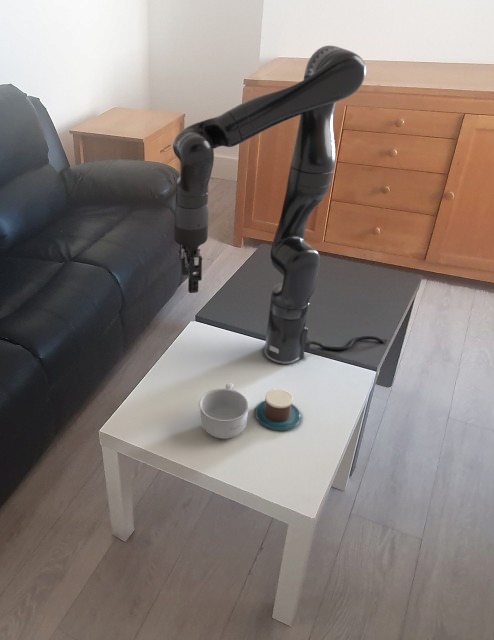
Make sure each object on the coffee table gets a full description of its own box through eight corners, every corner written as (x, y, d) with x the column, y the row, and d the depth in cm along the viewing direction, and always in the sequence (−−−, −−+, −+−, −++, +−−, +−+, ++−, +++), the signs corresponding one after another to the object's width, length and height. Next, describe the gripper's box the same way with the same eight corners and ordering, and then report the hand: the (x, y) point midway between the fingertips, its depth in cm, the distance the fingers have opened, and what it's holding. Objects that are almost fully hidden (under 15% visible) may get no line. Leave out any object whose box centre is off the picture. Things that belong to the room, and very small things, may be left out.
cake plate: (291, 399, 144) (291, 396, 143) (305, 428, 136) (306, 426, 135) (250, 403, 144) (251, 400, 143) (262, 432, 136) (263, 430, 135)
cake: (285, 403, 142) (287, 387, 139) (293, 421, 137) (296, 405, 134) (260, 405, 142) (262, 390, 139) (267, 423, 137) (269, 407, 134)
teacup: (235, 451, 132) (238, 426, 127) (191, 435, 137) (191, 410, 132) (256, 413, 141) (260, 387, 136) (214, 399, 146) (215, 374, 141)
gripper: (214, 233, 127) (211, 297, 136) (201, 206, 139) (199, 267, 148) (180, 236, 127) (179, 300, 136) (169, 209, 139) (169, 269, 148)
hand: (189, 282), depth 142 cm, fingers open, 8 cm apart
